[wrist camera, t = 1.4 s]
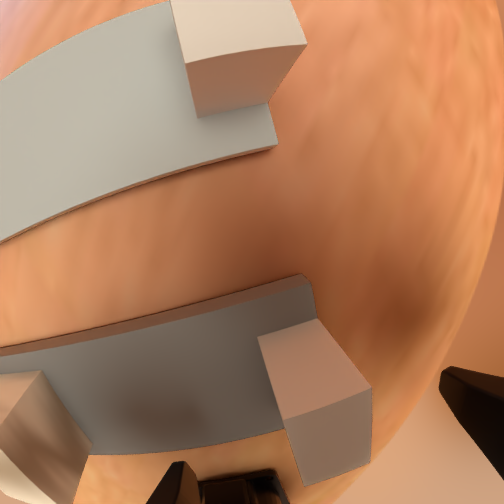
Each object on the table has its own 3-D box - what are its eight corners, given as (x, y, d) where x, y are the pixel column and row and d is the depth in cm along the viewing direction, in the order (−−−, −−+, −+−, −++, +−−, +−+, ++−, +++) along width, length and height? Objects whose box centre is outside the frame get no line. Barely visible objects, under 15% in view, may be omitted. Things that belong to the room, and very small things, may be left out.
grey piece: (324, 397, 13) (368, 479, 8) (26, 437, 12) (-2, 491, 6) (301, 273, 12) (370, 341, 6) (-29, 353, 10) (-77, 399, 5)
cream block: (92, 443, 11) (69, 514, 6) (34, 440, 11) (6, 495, 6) (41, 370, 10) (-9, 438, 5) (-12, 375, 9) (-56, 425, 5)
